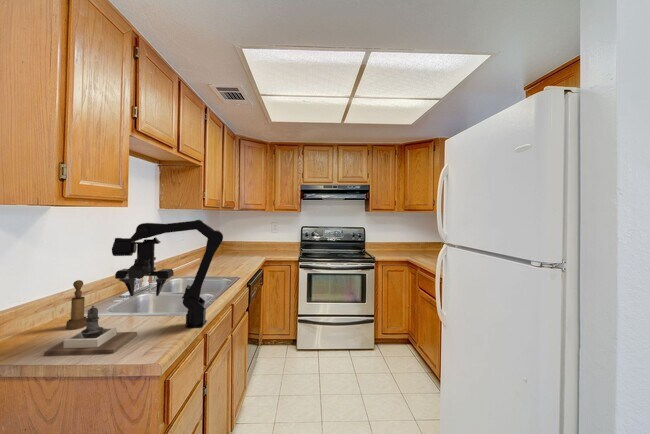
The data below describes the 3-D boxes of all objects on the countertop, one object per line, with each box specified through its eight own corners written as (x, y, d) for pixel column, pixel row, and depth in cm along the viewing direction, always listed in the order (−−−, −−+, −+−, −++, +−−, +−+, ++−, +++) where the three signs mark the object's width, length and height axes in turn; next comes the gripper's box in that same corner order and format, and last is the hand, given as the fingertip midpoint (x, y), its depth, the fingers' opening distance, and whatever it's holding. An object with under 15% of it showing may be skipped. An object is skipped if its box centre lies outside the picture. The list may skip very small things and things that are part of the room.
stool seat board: (137, 335, 105) (137, 325, 105) (113, 353, 91) (113, 341, 91) (77, 336, 103) (78, 326, 103) (44, 355, 89) (44, 343, 89)
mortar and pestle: (84, 328, 110) (85, 281, 110) (62, 330, 107) (63, 282, 107) (90, 322, 116) (91, 278, 116) (70, 324, 114) (71, 279, 114)
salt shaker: (106, 336, 101) (106, 302, 101) (98, 343, 95) (99, 307, 95) (85, 338, 99) (86, 303, 99) (77, 345, 93) (77, 308, 93)
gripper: (106, 258, 101) (105, 302, 101) (161, 258, 103) (160, 301, 103) (124, 254, 112) (123, 294, 112) (174, 254, 114) (173, 293, 114)
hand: (144, 296), depth 110 cm, fingers open, 9 cm apart
